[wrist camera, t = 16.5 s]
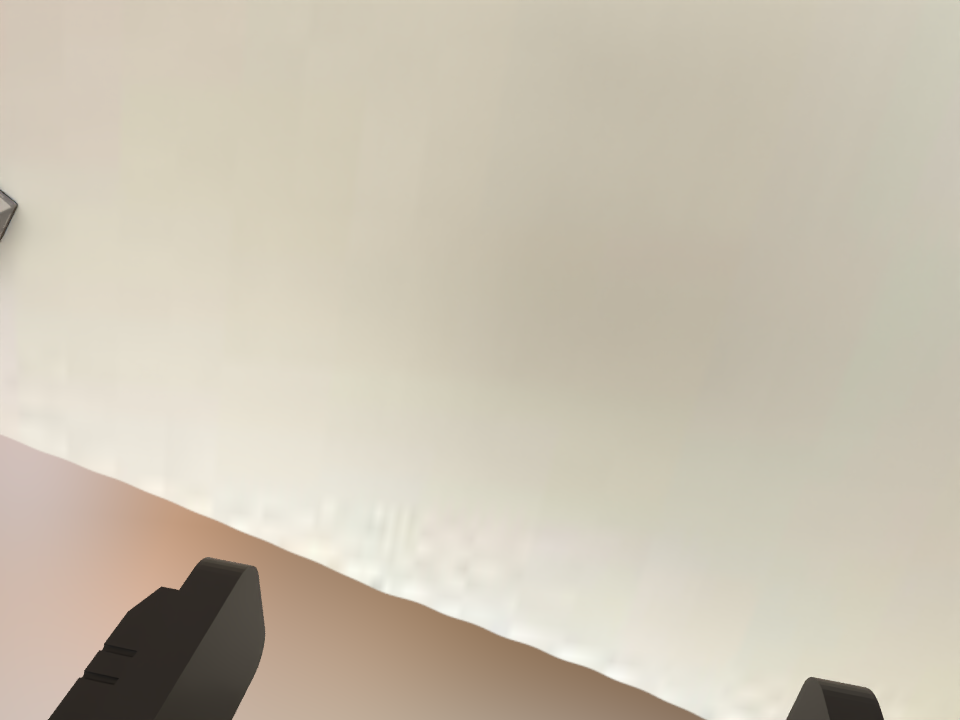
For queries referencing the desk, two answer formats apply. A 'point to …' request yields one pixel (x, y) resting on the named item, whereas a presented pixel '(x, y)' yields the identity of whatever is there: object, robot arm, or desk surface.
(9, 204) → the blue grey product box
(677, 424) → the desk surface
